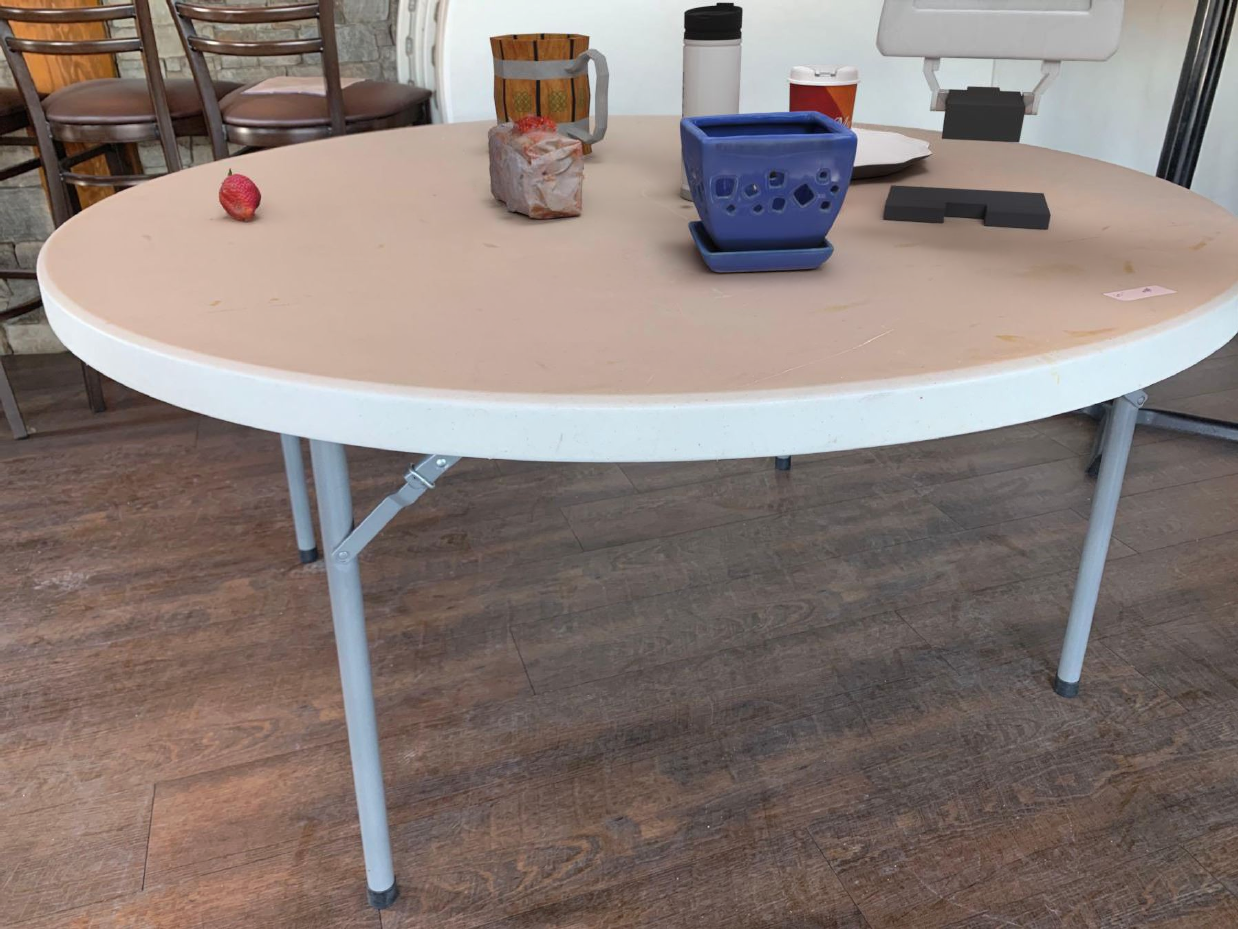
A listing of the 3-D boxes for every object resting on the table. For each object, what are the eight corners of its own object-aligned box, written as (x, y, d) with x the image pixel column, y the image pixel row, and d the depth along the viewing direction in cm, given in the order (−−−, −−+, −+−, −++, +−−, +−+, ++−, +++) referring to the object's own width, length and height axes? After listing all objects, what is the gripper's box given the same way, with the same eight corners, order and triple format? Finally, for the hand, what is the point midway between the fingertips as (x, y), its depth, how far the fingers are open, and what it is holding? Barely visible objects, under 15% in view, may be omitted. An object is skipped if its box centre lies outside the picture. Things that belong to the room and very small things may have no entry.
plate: (968, 159, 128) (971, 141, 127) (850, 197, 109) (853, 175, 108) (785, 136, 146) (786, 119, 145) (657, 164, 127) (657, 146, 126)
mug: (477, 152, 137) (468, 37, 130) (549, 140, 145) (545, 31, 138) (569, 171, 124) (564, 45, 117) (642, 156, 133) (642, 38, 126)
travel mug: (745, 193, 112) (754, 2, 103) (720, 204, 107) (728, 5, 98) (696, 187, 115) (701, 1, 105) (670, 199, 110) (673, 4, 100)
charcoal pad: (1041, 206, 105) (1044, 192, 104) (1047, 229, 96) (1051, 214, 95) (889, 198, 109) (891, 184, 108) (883, 219, 100) (884, 204, 100)
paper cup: (850, 211, 104) (864, 71, 97) (778, 209, 105) (787, 71, 98) (846, 195, 111) (859, 63, 104) (779, 193, 112) (787, 63, 105)
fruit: (228, 226, 101) (218, 177, 99) (219, 214, 106) (210, 168, 103) (270, 221, 103) (261, 173, 100) (259, 210, 107) (251, 163, 105)
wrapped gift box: (595, 217, 103) (593, 120, 98) (526, 226, 99) (520, 126, 95) (543, 193, 113) (539, 104, 109) (479, 201, 110) (472, 109, 105)
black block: (1013, 120, 95) (1018, 87, 93) (1019, 142, 84) (1025, 106, 83) (944, 117, 96) (948, 85, 95) (941, 138, 86) (946, 103, 84)
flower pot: (694, 283, 82) (698, 136, 76) (675, 241, 94) (677, 112, 88) (848, 278, 83) (863, 132, 77) (810, 237, 94) (821, 109, 89)
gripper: (1138, -61, 82) (1101, 111, 88) (890, -59, 87) (872, 103, 94) (1151, -61, 76) (1109, 122, 83) (885, -60, 82) (866, 112, 88)
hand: (981, 112), depth 88 cm, fingers closed on black block, 6 cm apart
